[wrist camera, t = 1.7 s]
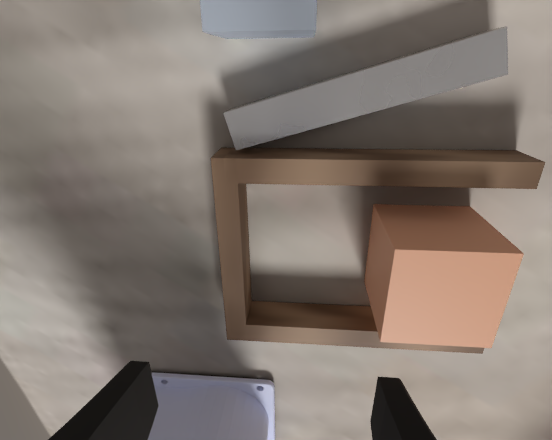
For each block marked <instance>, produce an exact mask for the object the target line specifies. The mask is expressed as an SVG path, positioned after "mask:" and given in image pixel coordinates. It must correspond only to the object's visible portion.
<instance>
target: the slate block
mask: <svg viewBox="0 0 552 440" xmlns="http://www.w3.org/2000/svg"><path fill="white" fill-rule="evenodd" d="M200 7H201V18H202V29H203V32H204V33H208V34H211V35H215V36H218V37H221V38H225V39H253V38H306V37H314V36H315V32H316V14H317V0H200Z"/></svg>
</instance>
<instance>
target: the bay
mask: <svg viewBox="0 0 552 440" xmlns="http://www.w3.org/2000/svg"><path fill="white" fill-rule="evenodd" d="M544 165H545V162H543V161H541V160H538V159H536V158H534V157H531V156H529V155H526V154H524V153H521V152H519V151H517V150H418V149H317V148H243V149H240V150H236V149H235V148H221V149H220V150H219V151H218V152H217V153H216V154H214V155H213V156H212V157H211V167H212V178H213V189H214V200H215V211H216V222H217V233H218V244H219V255H220V266H221V277H222V288H223V299H224V310H225V321H226V332H227V339H228V340H246V341H264V342H282V343H300V344H318V345H336V346H354V347H372V348H390V349H408V350H426V351H444V352H463V353H481V354H482V353H483V350H484V348H480V347H462V346H443V345H425V344H406V343H388V342H380V339H379V336H378V332H377V328H376V324H375V320H374V317H373V313H372V309H371V306H353V305H331V304H309V303H287V302H266V301H252V297H251V276H250V255H249V234H248V213H247V192H246V184H298V185H352V186H407V187H462V188H516V189H537V186H538V183H539V180H540V177H541V174H542V171H543V168H544Z"/></svg>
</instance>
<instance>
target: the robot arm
mask: <svg viewBox="0 0 552 440" xmlns="http://www.w3.org/2000/svg"><path fill="white" fill-rule="evenodd" d="M371 430H372V438H373V440H436V438H435V437H434V435H433V433H432V432H431V430H430V429H429V427H428V426H427V424H426V422H425V421H424V419H423V417H422V416H421V414H420V412H419V411H418V409H417V407H416V406H415V404H414V402H413V401H412V399H411V397H410V395H409V394H408V392H407V390H406V388H405V386H404V385H403V383H402V381H401V380H400V379H399V378H388V377H378V380H377V386H376V392H375V398H374V404H373V410H372V416H371ZM48 440H275V391H274V383H273V382H272V381H270V380H264V379H248V378H233V377H217V376H202V375H186V374H171V373H155V372H151V369H150V364H149V362H140V361H130V362H129V363H128V364H127V365H126V366H125V367H124V368H123V369H122V370H121V371H120V372H119V373H118V374H117V375H116V376H115V377H114V378H113V379H112V380H111V381H110V382H109V383H108V384H107V385H106V386H105V387H104V388H103V389H101V390H100V391H99V392H98V393H97V394H96V395H95V396H94V397H93V398H92V399H91V400H90V401H89V402H88V403H87V404H86V405H85V406H84V407H83V408H82V409H81V410H80V411H79V412H78V413H77V414H76V415H74V416H73V417H72V418H71V419H70V420H69V421H68V422H67V423H66V424H65V425H64V426H63V427H62V428H61V429H60V430H58V431H57V432H56V433H55V434H54V435H53V436H52V437H51V438H49V439H48Z"/></svg>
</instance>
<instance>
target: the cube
mask: <svg viewBox="0 0 552 440" xmlns="http://www.w3.org/2000/svg"><path fill="white" fill-rule="evenodd" d="M523 255H524V254H523V253H522V252H521V251H520V250H519V249H518V248H517V247H516V246H514V245H513V244H512V243H511V242H510V241H509V240H508V239H506V238H505V237H504V236H503V235H502V234H501V233H500V232H498V231H497V230H496V229H495V228H494V227H493V226H492V225H490V224H489V223H488V222H487V221H486V220H485V219H484V218H483V217H481V216H480V215H479V214H478V213H477V212H476V211H475V210H473V209H472V208H471V207H470V206H430V205H388V204H374V205H373V213H372V221H371V230H370V238H369V246H368V254H367V263H366V271H365V279H364V282H365V286H366V290H367V294H368V298H369V301H370V305H371V309H372V313H373V317H374V320H375V324H376V328H377V332H378V336H379V339H380V342H388V343H406V344H425V345H443V346H462V347H480V348H492V345H493V342H494V339H495V336H496V333H497V330H498V327H499V324H500V322H501V319H502V316H503V313H504V310H505V307H506V304H507V301H508V298H509V295H510V292H511V290H512V287H513V284H514V281H515V278H516V275H517V272H518V269H519V266H520V263H521V261H522V258H523Z"/></svg>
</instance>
